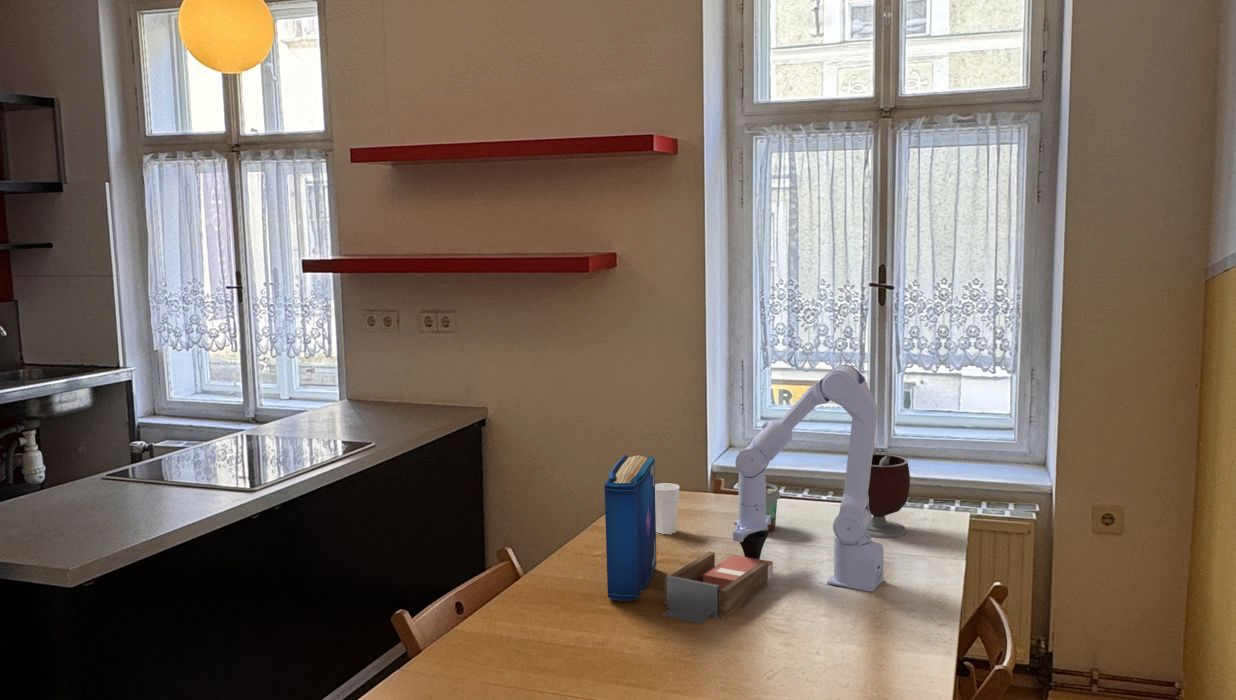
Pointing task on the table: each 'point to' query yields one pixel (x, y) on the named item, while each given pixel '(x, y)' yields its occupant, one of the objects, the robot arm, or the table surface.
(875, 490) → the mate gourd
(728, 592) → the brown wooden drawer
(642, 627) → the table surface
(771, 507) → the food container
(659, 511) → the cup
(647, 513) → the book
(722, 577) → the boxed book
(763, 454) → the robot arm
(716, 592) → the bookend
